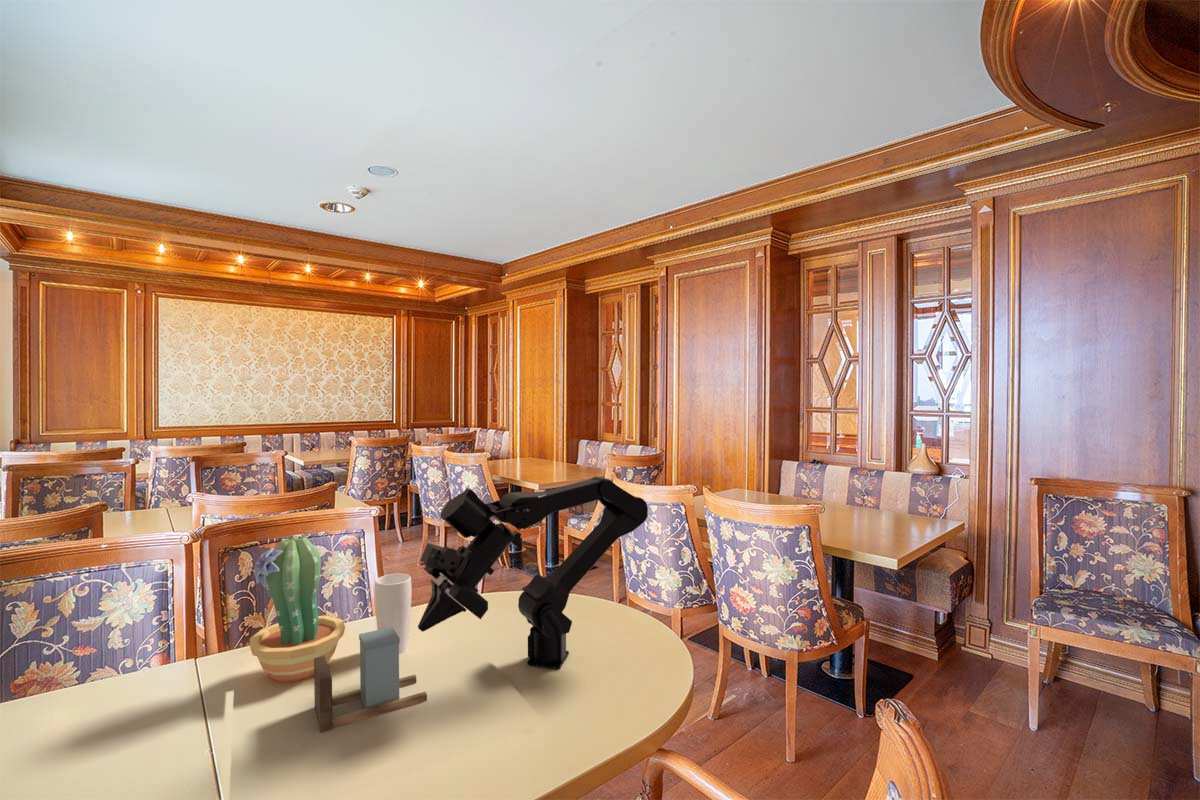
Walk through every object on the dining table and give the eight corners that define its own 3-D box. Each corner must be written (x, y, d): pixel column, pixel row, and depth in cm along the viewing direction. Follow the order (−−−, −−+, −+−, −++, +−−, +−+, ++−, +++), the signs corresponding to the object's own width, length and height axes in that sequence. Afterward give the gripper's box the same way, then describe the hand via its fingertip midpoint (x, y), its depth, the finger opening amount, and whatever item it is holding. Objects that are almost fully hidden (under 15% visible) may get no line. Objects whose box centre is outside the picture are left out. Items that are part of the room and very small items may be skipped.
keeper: (393, 689, 94) (392, 626, 94) (400, 703, 90) (399, 638, 90) (359, 698, 91) (359, 634, 91) (365, 713, 87) (364, 646, 87)
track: (414, 686, 98) (414, 635, 97) (427, 708, 91) (426, 652, 91) (311, 715, 89) (311, 658, 89) (317, 741, 82) (316, 680, 82)
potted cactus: (261, 663, 106) (260, 531, 106) (350, 651, 111) (349, 525, 111) (236, 706, 92) (234, 554, 91) (340, 690, 96) (338, 545, 96)
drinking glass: (400, 665, 105) (399, 585, 105) (367, 662, 107) (366, 583, 106) (418, 649, 112) (418, 574, 112) (388, 646, 113) (387, 572, 113)
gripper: (434, 516, 104) (372, 586, 99) (468, 537, 89) (396, 622, 83) (475, 551, 109) (419, 620, 103) (514, 577, 93) (450, 661, 87)
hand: (420, 629), depth 94 cm, fingers closed
